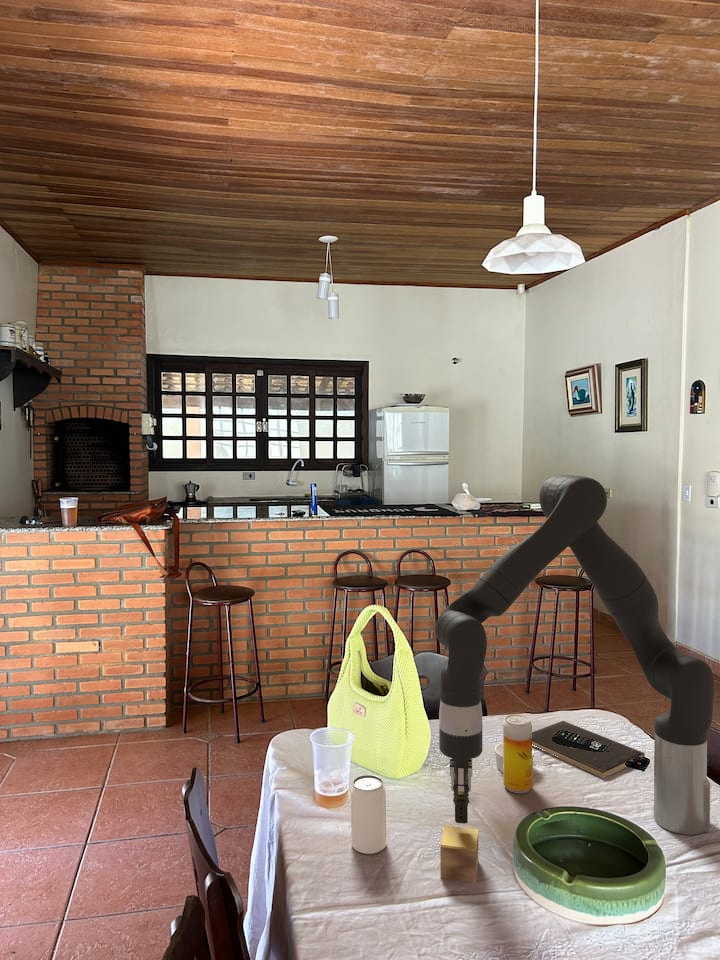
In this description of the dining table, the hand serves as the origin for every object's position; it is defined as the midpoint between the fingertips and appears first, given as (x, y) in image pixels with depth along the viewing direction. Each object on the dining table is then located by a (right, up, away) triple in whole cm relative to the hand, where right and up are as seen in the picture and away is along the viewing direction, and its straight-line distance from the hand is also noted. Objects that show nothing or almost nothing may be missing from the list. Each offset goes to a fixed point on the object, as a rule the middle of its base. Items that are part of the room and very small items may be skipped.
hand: (461, 820), depth 121 cm
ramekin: (+17, -6, +35) cm, 40 cm away
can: (-16, -8, +6) cm, 19 cm away
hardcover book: (+36, -6, +44) cm, 57 cm away
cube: (-1, -2, -2) cm, 3 cm away
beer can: (+16, -6, +26) cm, 31 cm away
